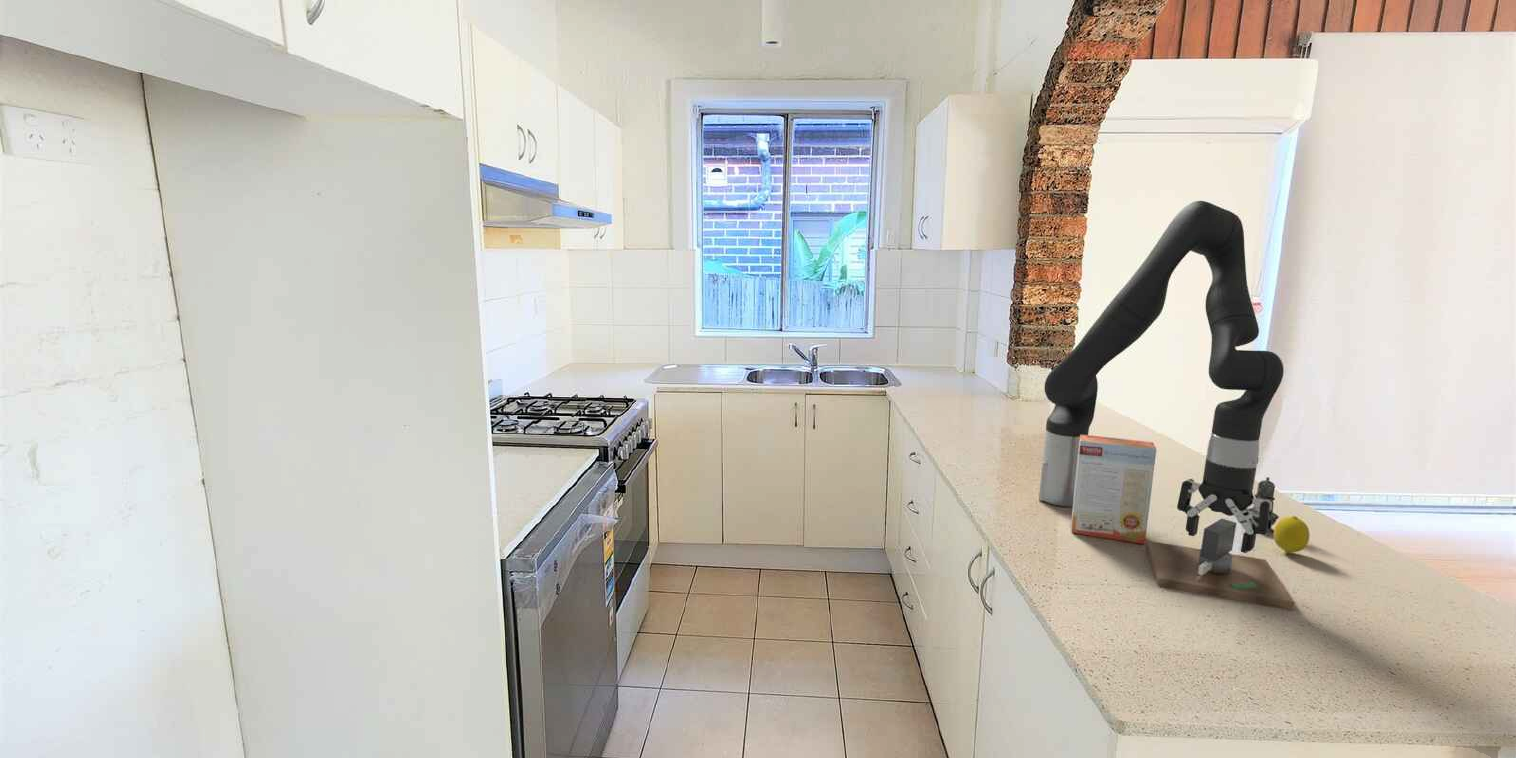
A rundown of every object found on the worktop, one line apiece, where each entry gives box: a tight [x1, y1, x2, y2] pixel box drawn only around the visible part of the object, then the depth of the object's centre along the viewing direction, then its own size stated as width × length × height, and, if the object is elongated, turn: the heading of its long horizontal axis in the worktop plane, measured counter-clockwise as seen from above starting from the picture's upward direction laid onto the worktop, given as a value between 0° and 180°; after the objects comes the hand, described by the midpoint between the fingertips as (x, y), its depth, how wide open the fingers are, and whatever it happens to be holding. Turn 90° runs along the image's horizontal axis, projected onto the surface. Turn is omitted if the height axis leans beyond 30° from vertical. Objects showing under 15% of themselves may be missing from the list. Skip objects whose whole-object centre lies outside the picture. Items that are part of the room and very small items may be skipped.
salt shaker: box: [1248, 476, 1279, 535], centre depth 144 cm, size 6×6×12 cm
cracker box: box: [1070, 434, 1157, 545], centre depth 140 cm, size 14×6×21 cm, turn 65°
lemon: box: [1273, 515, 1310, 555], centre depth 132 cm, size 6×6×8 cm
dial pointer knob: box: [1198, 518, 1237, 575], centre depth 122 cm, size 10×5×8 cm, turn 126°
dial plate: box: [1145, 540, 1295, 611], centre depth 124 cm, size 20×17×2 cm
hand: (1218, 543), depth 122 cm, fingers open, 8 cm apart
